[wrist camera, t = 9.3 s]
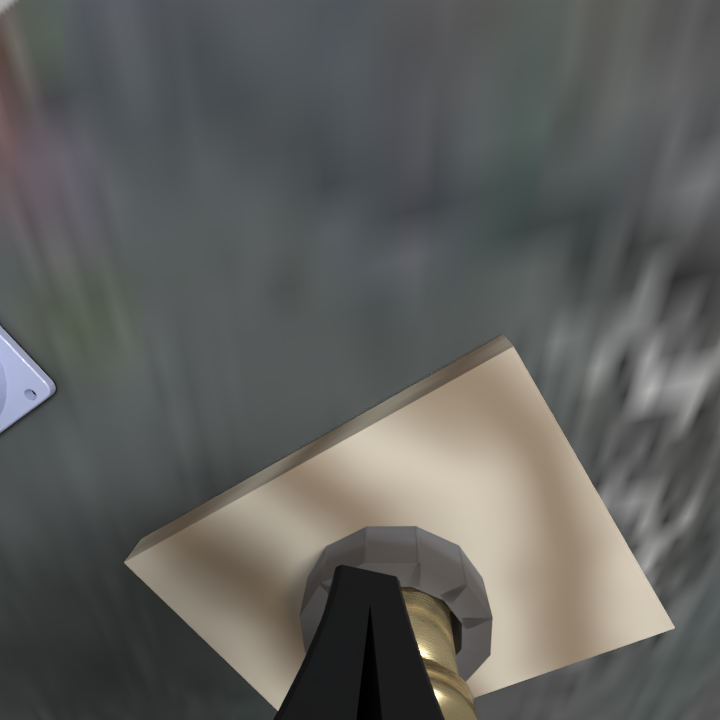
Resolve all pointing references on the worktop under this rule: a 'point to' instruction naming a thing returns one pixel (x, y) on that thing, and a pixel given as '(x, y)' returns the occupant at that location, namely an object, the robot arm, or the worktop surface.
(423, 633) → the knob
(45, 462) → the worktop surface
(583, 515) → the plate
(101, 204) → the worktop surface
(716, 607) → the worktop surface
